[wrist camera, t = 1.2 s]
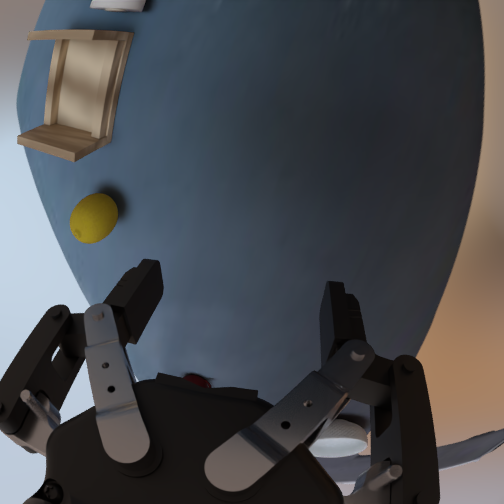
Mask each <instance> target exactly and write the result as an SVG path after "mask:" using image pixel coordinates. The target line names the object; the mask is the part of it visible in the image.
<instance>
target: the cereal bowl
mask: <svg viewBox="0 0 504 504" xmlns="http://www.w3.org/2000/svg"><path fill="white" fill-rule="evenodd" d="M367 445H368V439H367V434H366V432H365V430H364V429H363V428H362V427H361V426H359V425H357V424H355V423H352V422H348V421H346V420H342V419H334V420H333V421H332V423H331V424H330V425H329V426H328V427H327V429H326V430H325V431H324V432H323V434H322V435H321V436H320V437H319V438H318V440H317V441H316V442H315V443H314V444H313V445H312V446H311V447H310V448H309V450H310V451H311V453H312V454H313V455H314V456H316V457H343V456H349V455H353V454H357V453H359V452H361V451H363V450H365V449H366V448H367Z"/></svg>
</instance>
